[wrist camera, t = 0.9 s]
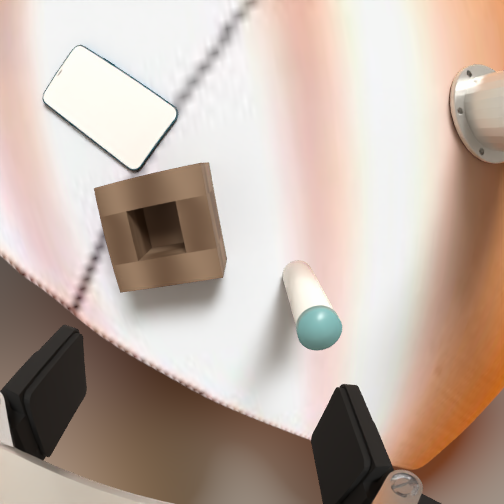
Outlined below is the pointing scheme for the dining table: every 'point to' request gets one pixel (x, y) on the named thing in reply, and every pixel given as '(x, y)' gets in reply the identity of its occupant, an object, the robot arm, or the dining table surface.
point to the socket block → (163, 228)
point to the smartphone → (109, 107)
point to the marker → (310, 307)
